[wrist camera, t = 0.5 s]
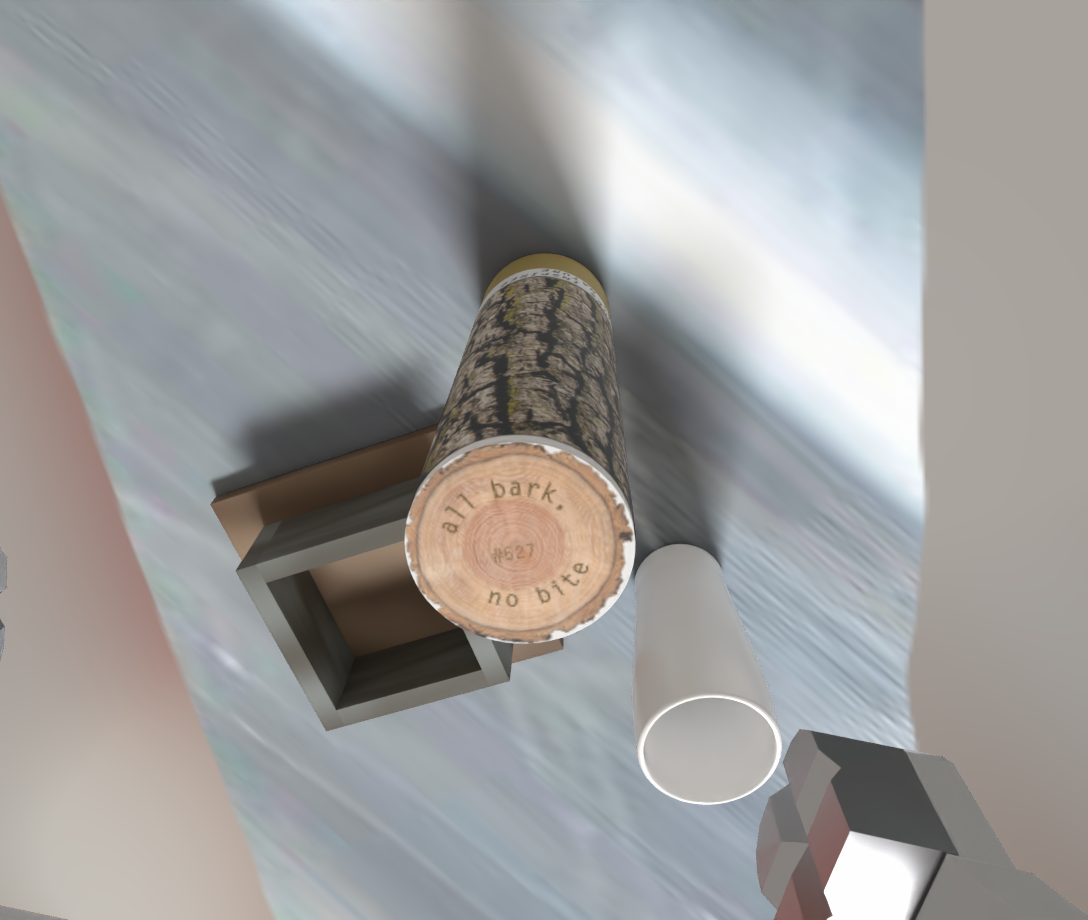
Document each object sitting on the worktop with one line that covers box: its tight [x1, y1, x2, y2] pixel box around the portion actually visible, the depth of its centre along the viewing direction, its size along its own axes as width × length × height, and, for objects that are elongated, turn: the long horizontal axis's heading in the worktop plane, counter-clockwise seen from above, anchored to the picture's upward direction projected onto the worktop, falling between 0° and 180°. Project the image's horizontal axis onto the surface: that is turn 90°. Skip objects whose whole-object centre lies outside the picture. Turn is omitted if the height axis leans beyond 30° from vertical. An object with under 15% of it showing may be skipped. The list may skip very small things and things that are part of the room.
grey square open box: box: [211, 424, 563, 731], centre depth 55 cm, size 16×16×6 cm
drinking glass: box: [631, 544, 782, 804], centre depth 50 cm, size 7×7×15 cm
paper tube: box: [405, 253, 635, 644], centre depth 39 cm, size 7×7×25 cm
